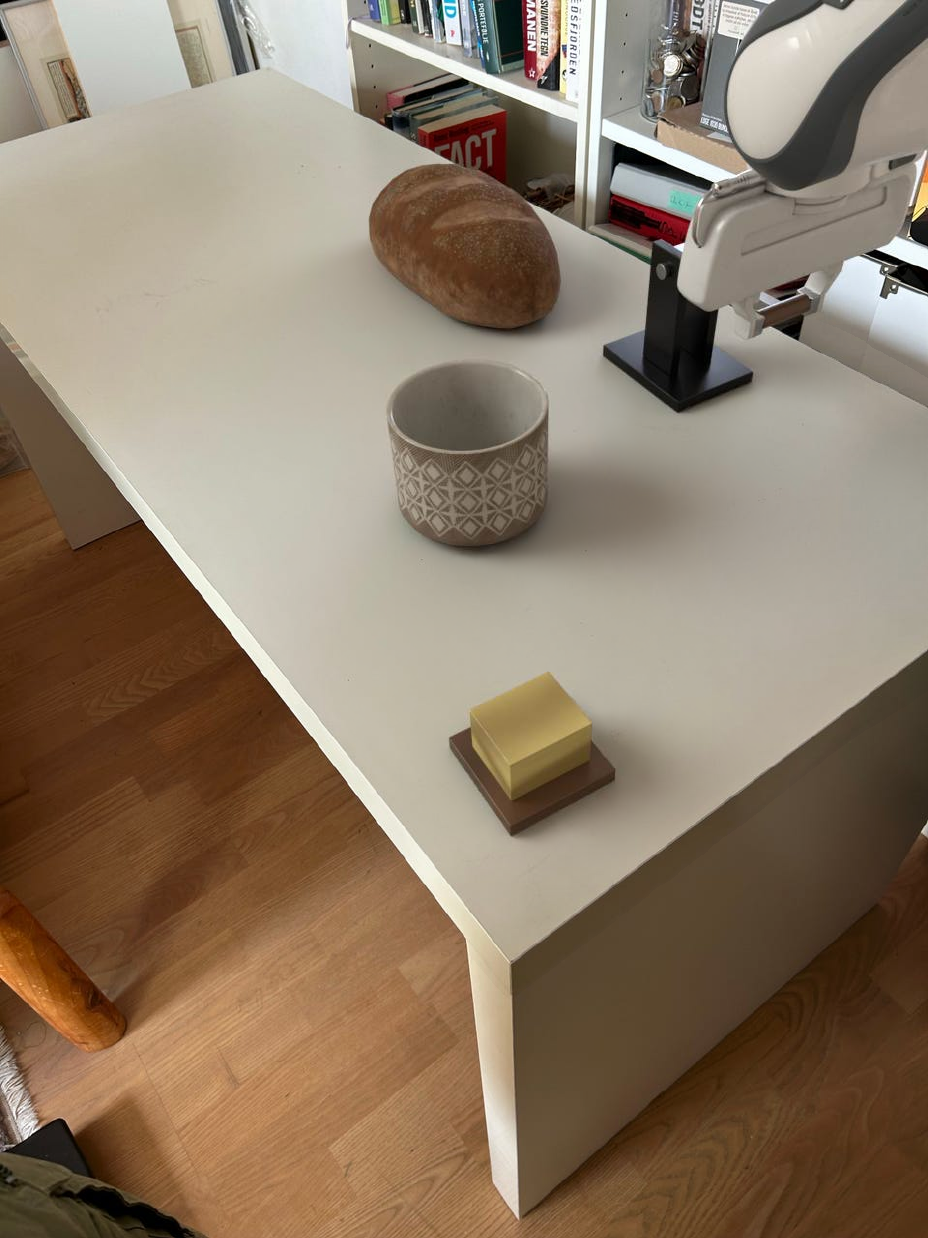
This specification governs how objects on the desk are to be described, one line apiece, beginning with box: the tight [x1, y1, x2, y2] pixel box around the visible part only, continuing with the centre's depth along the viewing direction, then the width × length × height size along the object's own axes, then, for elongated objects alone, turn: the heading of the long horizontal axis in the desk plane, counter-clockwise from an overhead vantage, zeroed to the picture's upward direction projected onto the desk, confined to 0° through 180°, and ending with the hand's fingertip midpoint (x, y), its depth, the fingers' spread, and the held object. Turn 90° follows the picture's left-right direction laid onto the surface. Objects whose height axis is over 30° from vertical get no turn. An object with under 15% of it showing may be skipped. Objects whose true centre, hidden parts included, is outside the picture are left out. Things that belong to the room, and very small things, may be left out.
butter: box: [448, 671, 617, 837], centre depth 62 cm, size 8×8×5 cm
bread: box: [368, 163, 562, 330], centre depth 106 cm, size 16×29×11 cm, turn 32°
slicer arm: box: [673, 242, 811, 330], centre depth 83 cm, size 14×5×2 cm, turn 30°
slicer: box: [602, 238, 755, 413], centre depth 90 cm, size 12×9×13 cm
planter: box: [385, 358, 550, 547], centre depth 79 cm, size 13×13×10 cm
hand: (777, 322), depth 80 cm, fingers closed on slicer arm, 5 cm apart
